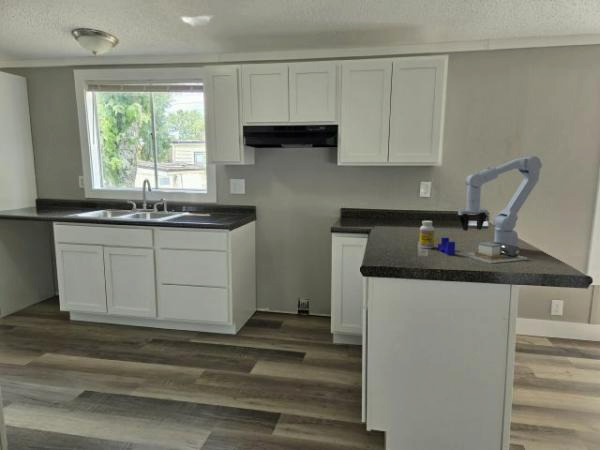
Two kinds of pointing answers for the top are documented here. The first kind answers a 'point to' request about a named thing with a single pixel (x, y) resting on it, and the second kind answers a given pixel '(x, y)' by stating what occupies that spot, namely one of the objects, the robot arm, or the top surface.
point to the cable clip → (447, 246)
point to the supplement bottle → (426, 235)
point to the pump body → (489, 248)
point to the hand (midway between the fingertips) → (472, 229)
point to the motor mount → (506, 254)
